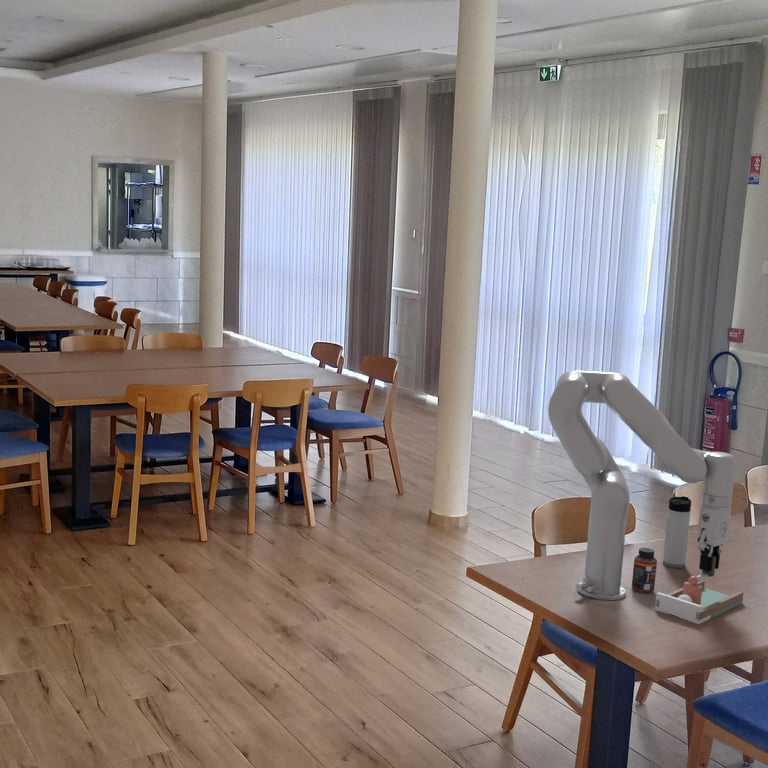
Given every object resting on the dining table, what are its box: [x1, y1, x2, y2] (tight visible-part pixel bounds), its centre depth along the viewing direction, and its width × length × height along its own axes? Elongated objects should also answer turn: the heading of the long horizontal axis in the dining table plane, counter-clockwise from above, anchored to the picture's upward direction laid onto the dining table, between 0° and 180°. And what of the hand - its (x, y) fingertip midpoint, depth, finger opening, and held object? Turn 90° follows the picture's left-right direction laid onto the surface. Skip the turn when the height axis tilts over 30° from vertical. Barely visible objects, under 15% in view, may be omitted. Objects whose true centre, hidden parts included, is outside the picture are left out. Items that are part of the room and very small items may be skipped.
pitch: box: [654, 580, 744, 625], centre depth 266 cm, size 24×12×4 cm, turn 136°
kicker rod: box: [682, 555, 716, 605], centre depth 264 cm, size 11×4×12 cm, turn 136°
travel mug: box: [662, 495, 692, 569], centre depth 299 cm, size 6×7×20 cm
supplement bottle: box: [631, 547, 658, 594], centre depth 275 cm, size 6×6×11 cm
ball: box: [678, 595, 693, 603], centre depth 259 cm, size 4×4×4 cm
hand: (708, 568), depth 267 cm, fingers closed on kicker rod, 3 cm apart
